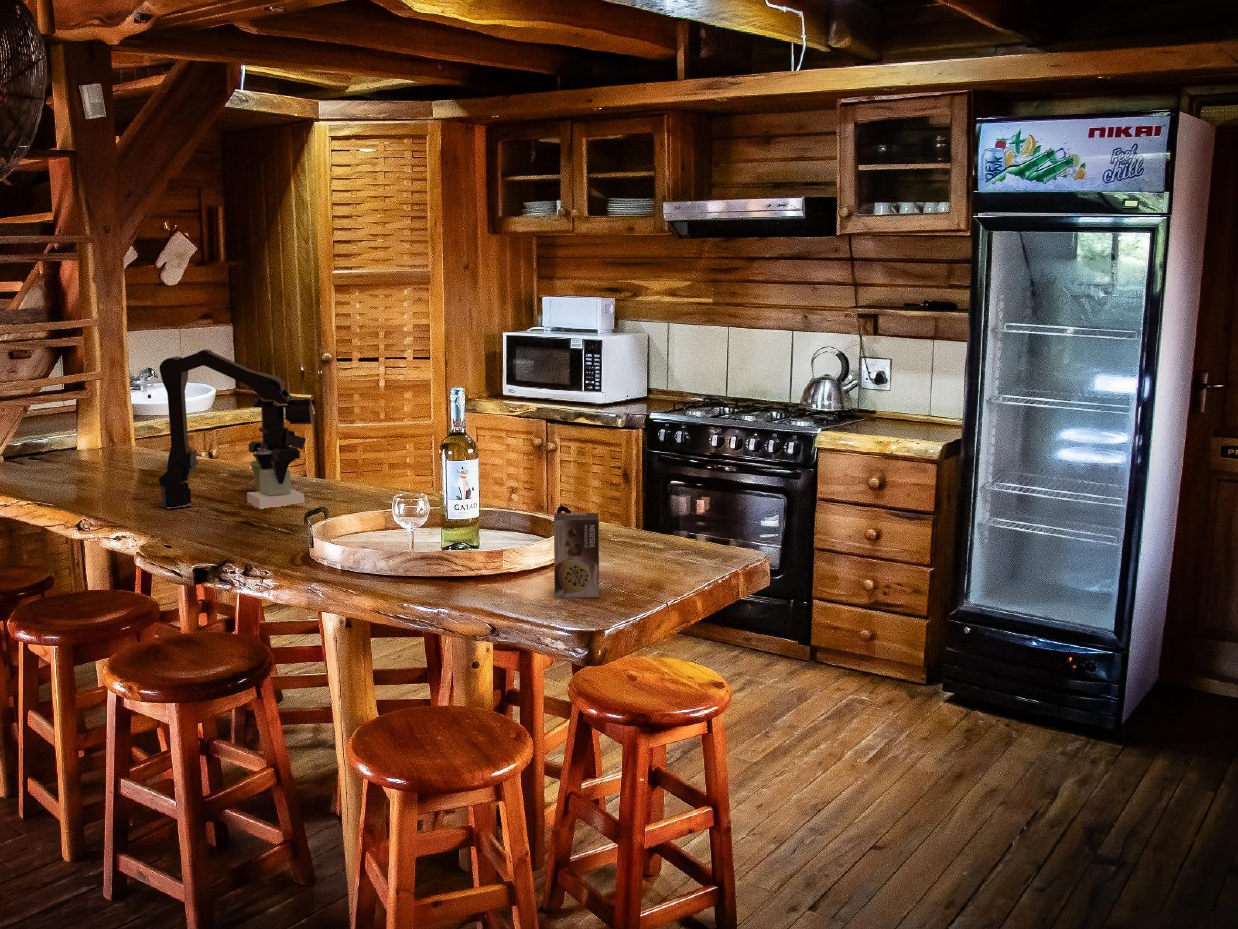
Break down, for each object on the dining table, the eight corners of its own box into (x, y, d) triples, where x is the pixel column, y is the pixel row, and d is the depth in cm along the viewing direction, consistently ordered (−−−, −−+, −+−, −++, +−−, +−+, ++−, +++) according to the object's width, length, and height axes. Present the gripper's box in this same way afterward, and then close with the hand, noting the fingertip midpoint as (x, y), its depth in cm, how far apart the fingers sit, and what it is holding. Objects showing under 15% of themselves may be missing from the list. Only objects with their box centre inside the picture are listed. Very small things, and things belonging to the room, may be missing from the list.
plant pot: (292, 491, 340) (291, 461, 338) (266, 496, 332) (265, 466, 330) (269, 488, 344) (268, 458, 343) (243, 493, 337) (242, 462, 335)
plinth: (260, 513, 312) (259, 498, 311) (247, 507, 320) (247, 492, 319) (304, 508, 319) (304, 494, 318) (291, 502, 327) (290, 488, 326)
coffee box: (598, 589, 243) (599, 512, 241) (599, 598, 237) (600, 519, 234) (553, 589, 243) (554, 511, 240) (553, 598, 237) (553, 518, 234)
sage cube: (269, 495, 314) (269, 473, 313) (259, 492, 319) (259, 469, 318) (290, 493, 318) (290, 470, 317) (280, 489, 323) (280, 467, 322)
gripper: (317, 425, 314) (319, 483, 316) (285, 417, 327) (287, 473, 330) (278, 429, 306) (280, 488, 309) (246, 421, 320) (248, 478, 323)
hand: (275, 481), depth 318 cm, fingers open, 7 cm apart
